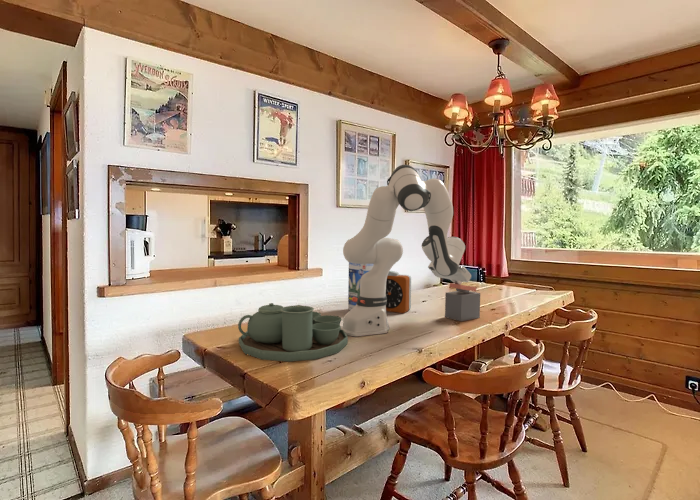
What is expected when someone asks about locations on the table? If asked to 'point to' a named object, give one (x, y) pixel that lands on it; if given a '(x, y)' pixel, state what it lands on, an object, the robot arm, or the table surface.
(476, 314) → the switch box
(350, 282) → the string lights box
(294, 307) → the tea set
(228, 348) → the table surface
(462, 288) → the rocker
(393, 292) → the alarm clock
